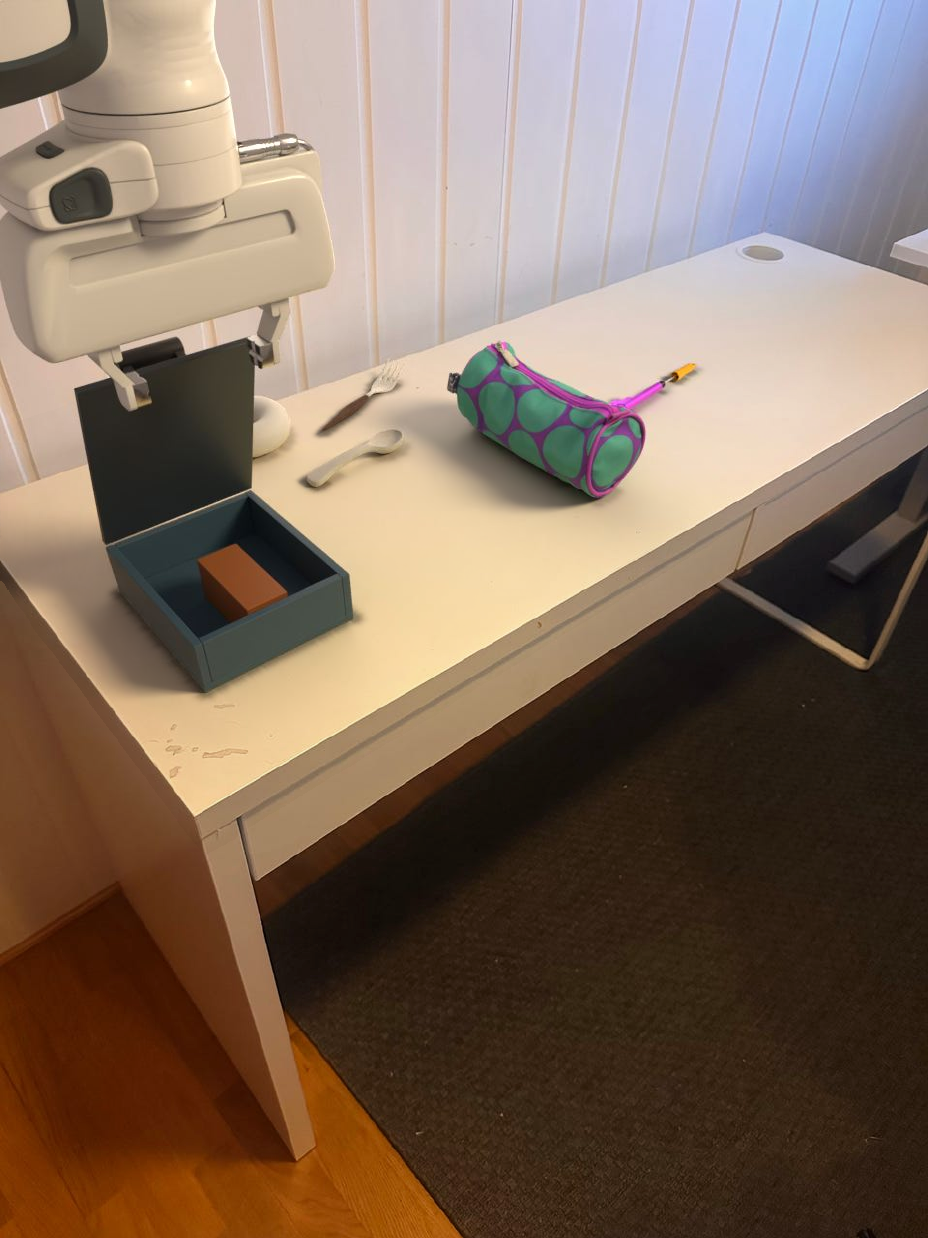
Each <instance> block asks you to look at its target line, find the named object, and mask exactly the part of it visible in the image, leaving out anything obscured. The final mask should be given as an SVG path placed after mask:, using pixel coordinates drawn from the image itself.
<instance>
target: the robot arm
mask: <svg viewBox="0 0 928 1238" xmlns="http://www.w3.org/2000/svg"><path fill="white" fill-rule="evenodd" d="M216 7H217V0H0V110H2V109H6V108H8V107H13V106H16V105H19V104H23V103H26V102H29V101H32V100H35V99H38V98H41V97H44V96H49V95H50V94H53V93H56V92H57V95H58V99H59V102H60V105H61V110H62V112H63V118H64V119H62V120H61V121H59V122H57V123H56V124H54V125H53V126H52V127H50V128H48V129H47V130H45V131H44V132H42V133H40V134H39V135H37V136H35V137H33V138H31V139H30V140H28V141H26V142H24V143H23V144H20V145H19V146H17V147H15V148H14V149H12V150H10V151H8V152H7V153H4V154H3V155H1V156H0V206H1V207H2V208H3V209H5V211H7V212H5V213H4V214H3V215H2V217H1V218H0V286H1V290H2V295H3V299H4V302H5V307H6V310H7V313H8V318H9V321H10V323H11V326H12V329H13V331H14V334H15V335H16V338H18V340H19V341H20V343H21V344H22V345H23V346H24V347H25V348H26V349H27V350H28V351H29V352H31V353H32V354H34V355H35V356H37V357H38V358H40V359H42V360H43V361H45V362H47V363H50V364H59V363H63V362H67V361H70V360H73V359H77V358H81V357H83V356H87V357H88V358H89V359H90V360H91V361H92V362H94V364H96V365H97V367H99V369H100V370H101V371H103V372H104V373H105V374H106V375H107V376H108V378H112V379H113V380H114V384H115V388H116V391H117V395H118V398H119V400H120V402H121V404H122V406H124V407H125V408H126V409H127V410H128V411H133V410H136V409H139V408H142V407H145V406H148V405H151V403H152V401H151V397H150V396H149V395H148V392H149V389H148V385H147V381H146V380H145V379H143V378H142V377H140V376H139V374H137V373H136V372H135V371H134V372H130V373H126V374H124V373H123V372H122V371H121V370H120V369H118V368H117V367H116V366H115V365H114V362H115V363H118V362H121V361H122V360H123V358H122V354H121V352H122V350H121V346H123V345H127V344H129V343H133V342H136V341H141V340H143V339H147V338H151V337H155V336H159V335H161V334H165V333H168V332H169V333H170V332H172V331H176V330H179V329H183V328H186V327H190V326H193V325H197V324H200V323H205V322H208V321H211V320H215V319H219V318H223V317H227V316H229V315H233V314H236V313H241V312H243V311H247V310H251V309H254V308H259V309H261V310H262V313H261V317H260V320H259V324H258V327H257V331H256V334H253V335H249V336H250V337H249V336H246V337H247V345H248V348H249V349H250V352H249V357H250V360H251V362H252V363H253V364H254V365H255V367H256V366H257V368H258V369H260V370H263V369H267V368H269V367H270V368H271V367H272V366H275V365H279V364H281V363H282V362H281V361H282V357H281V350H280V342H279V341H280V340H281V338H282V336H283V333H284V330H285V328H286V325H287V324H288V323H287V322H288V320H289V318H290V315H291V305H290V298H293V297H297V296H300V295H304V294H307V293H311V292H315V291H318V290H322V289H324V288H327V287H328V286H329V283H330V282H331V279H332V277H333V275H334V273H335V270H336V260H335V253H334V252H335V251H334V247H333V242H332V241H333V240H332V235H331V231H330V224H329V220H328V216H327V212H326V208H325V204H324V200H323V197H322V192H323V177H322V167H321V165H322V164H321V160H320V157H319V156H320V155H319V154H318V152H316V149H315V148H314V146H313V145H311V143H309V142H308V141H306V140H304V139H302V138H299V137H298V136H297V135H296V134H295V133H292V132H283V133H278V134H275V135H273V136H271V137H265V138H263V137H262V138H249V139H243V140H237V134H236V125H235V120H234V113H233V106H232V99H231V95H230V94H231V91H230V86H229V82H228V79H227V77H226V74H225V71H224V68H223V67H222V64H221V61H220V59H219V55H218V51H217V48H216V40H215V29H214V25H215V15H216ZM300 148H303V149H300Z"/></svg>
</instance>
